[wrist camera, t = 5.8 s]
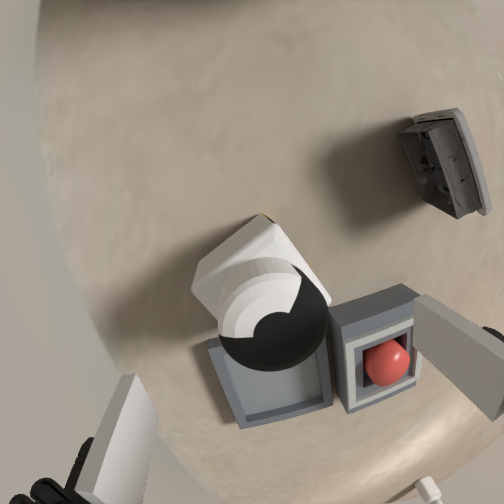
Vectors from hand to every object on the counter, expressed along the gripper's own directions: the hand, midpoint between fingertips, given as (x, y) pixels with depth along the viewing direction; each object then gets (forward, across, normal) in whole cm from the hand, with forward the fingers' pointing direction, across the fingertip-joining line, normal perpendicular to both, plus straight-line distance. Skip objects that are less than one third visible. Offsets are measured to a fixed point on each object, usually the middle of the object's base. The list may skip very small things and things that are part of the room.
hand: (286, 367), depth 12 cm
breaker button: (+12, +11, -12) cm, 20 cm away
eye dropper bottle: (+15, +28, -66) cm, 73 cm away
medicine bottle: (+15, 0, 0) cm, 15 cm away
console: (+15, +5, -12) cm, 19 cm away
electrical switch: (+15, +19, +6) cm, 25 cm away
